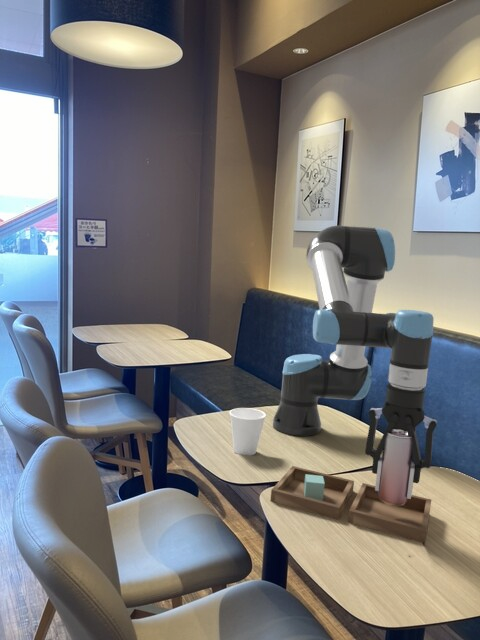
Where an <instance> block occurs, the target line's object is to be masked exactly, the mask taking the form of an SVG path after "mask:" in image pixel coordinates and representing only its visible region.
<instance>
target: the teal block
mask: <svg viewBox="0 0 480 640" xmlns="http://www.w3.org/2000/svg"><path fill="white" fill-rule="evenodd" d="M324 485H325V483H324V479H323V476H318V475H308V474H305V483H304V496H305V497H309V498H312V499H316V500H320V501H323V495H324Z"/></svg>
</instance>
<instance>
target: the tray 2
mask: <svg viewBox="0 0 480 640" xmlns="http://www.w3.org/2000/svg"><path fill="white" fill-rule="evenodd" d="M375 486H376V485H373V484H369V483H364V482H362V483H361V485H360V488H359V490H358V492H357V494H356V496H355V498H354V500H353V502H352V504H351V506H350V508H349V510H348V519H347V522H348V523H350V524H353V525H357V526H361V527H364V528H368V529H372V530H376V531H378V532H383V533H387V534H390V535H394V536H398V537H401V538H405V539H408V540H412V541H415V542H419V543H421V544H422V545H423V546H425V543H426V538H427V532H428V525H429V519H430V512H431V507H432V505H431V504H432V499H430V498H426V497H424V496H417V495H416V494H415V495H414V494H412V496H411V499H408V498H407V502H406V503H405V504H404V505H402V506H391V505H388V504H385V503H383V502H382V501H381V500H380V499H379V497H378V491H375Z"/></svg>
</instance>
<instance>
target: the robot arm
mask: <svg viewBox="0 0 480 640" xmlns="http://www.w3.org/2000/svg"><path fill="white" fill-rule="evenodd" d="M307 245H308V246H307V249H306V262H307V266H308V267H309V268H310V270H311V271H312V274H313V275H312V276H313V280H314V284H315V292H316V295H317V296H316V297H317V303H318V308H319V309H317V310H315V313H314V315H313V321H312V337H313V339H314V341H315V342H316V343H322V344H328V345H335V346H336V347H335V350H334V351H333V352H331V353H330V354H329V358H328V359H329V360H323V356H321V355H319V354H312V353H302V354H300V353H299V354H294V355H291V356H289V357H287V358H286V359H285V360H284V362H283V369H282V380H281V381H282V382H281V392H280V402H279V405H278V406H277V408H276V409H277V410H276V412H275V413H274V415H273V419H272V421H273V422H272V428H274V429H275V430H276V431H279V432H281V433H283V434H287V435H291V436H300V437H301V436H303V437H305V436H306V437H307V436H309V437H310V436H315V435H318V434H319V433H321V430H322V429H321V428H322V422H321V417H320V416H321V415H320V413H319V412H320V411H319V409H318V401H319V399H320V398H321V399H335V400H336V399H337V400H347V401H360V400H362V399H364V398H365V397H366V396H367V394H368V393H369V390H370V388H371V384H372V375H373V373H372V370H373V369H372V366H371V365H370V364H368V363H369V361H368V359H367V357H366V356H365V351H366V348H367V347H371V348H380V349H381V348H384V349H391V350H390V359H389V365H388V376H387V382H388V384H387V386H386V393H385V399H384V400H385V401H384V404H383V406H382V407H380V408H379V407H377V408H376V407H371V408H370V409H369V411H368V416H369V426H368V433H367V439H366V445H365V450H364V454H365V455H367V456H370V457H371V458H372V468H371V473H372V474H375V475H376V479H375V485H374V486H375V491H379V485H380V476H381V468H382V456H381V455H382V454H383V449H384V443H385V436H386V434H387V432H389V433H391V432H392V430H393V429H396V430H399V429H401V430H403V431H406V432H408V436H409V437H412V441H413V444H412V456H413V457H412V462H413V463H412V465H411V469H410V477H409V485H408V493H407V498H408V499H411V496H412V495H413V488H414V484H418V483H419V482H420V478H421V472H422V469H424V468H425V469H430V468H431V465H432V456H433V453H432V452H433V439H434V431H435V429H436V427H437V423H438V420H437V419H436V418H434V417H433V418H431V417H428V416H426V415H425V412H424V404H425V397H426V396H425V395H426V390H425V387H426V386H427V380H428V379H427V378H428V372H429V362H430V356H431V347H432V340H433V335H434V331H435V329H434V321H435V320H434V316H433V314H432V313H430V312H428V311H427V312H426V311H422V310H414V309H399V310H397V311H396V312H395V313H394V312H386V313H375V312H374V313H373V310H374V303H375V297H376V291H377V287H378V284H379V282H381V281H382V280H384V278H385V273H387V272H388V273H389V272H391V271H392V270H393V268H394V266H395V261H396V245H395V240H394V237H393V234H392V233H391V232H390V231H389V230H387V229H383V228H376V227H369V226H368V227H366V226H365V227H364V226H347V225H331V226H328V227H326V228H323V230H320V231H319V232H318V233H316V235H314V237H313V238H312V239H311V241H309V244H307ZM345 277H346V278H347V280H346V278H345ZM381 415H383V417H384V418H385V420H386V422H387V426H386V428H385V430H384V433H383V434H382V437H381V439H380V441H379V442H378V445H377V448H376V449H375V448H374V442H375V440H376V439H375V438H376V432H377V426H378V421H379V419H380V418H381ZM422 422H423V423H424V428H425V429H426V433H425V446H424V447H425V450H424V459H422V457H421V456H422V455H421V451H420V447H419V441H418V436H417V431H416V427H418V426H419V425H420V424H421V423H422Z"/></svg>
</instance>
